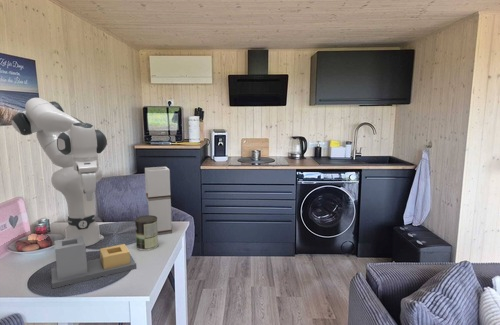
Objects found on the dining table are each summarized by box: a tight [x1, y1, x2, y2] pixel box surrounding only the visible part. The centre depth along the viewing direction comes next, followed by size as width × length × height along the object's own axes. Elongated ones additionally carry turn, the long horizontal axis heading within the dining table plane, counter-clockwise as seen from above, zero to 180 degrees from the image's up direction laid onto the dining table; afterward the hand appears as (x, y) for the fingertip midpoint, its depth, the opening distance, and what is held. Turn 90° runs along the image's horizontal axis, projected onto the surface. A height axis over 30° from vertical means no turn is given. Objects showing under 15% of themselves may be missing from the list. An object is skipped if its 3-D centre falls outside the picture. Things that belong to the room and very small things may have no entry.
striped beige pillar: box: [144, 166, 173, 236], centre depth 175 cm, size 11×11×35 cm
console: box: [50, 236, 137, 289], centre depth 132 cm, size 14×30×14 cm, turn 122°
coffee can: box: [134, 214, 159, 251], centre depth 156 cm, size 10×10×14 cm
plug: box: [83, 189, 97, 216], centre depth 128 cm, size 4×4×10 cm
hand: (88, 199), depth 128 cm, fingers closed on plug, 4 cm apart
